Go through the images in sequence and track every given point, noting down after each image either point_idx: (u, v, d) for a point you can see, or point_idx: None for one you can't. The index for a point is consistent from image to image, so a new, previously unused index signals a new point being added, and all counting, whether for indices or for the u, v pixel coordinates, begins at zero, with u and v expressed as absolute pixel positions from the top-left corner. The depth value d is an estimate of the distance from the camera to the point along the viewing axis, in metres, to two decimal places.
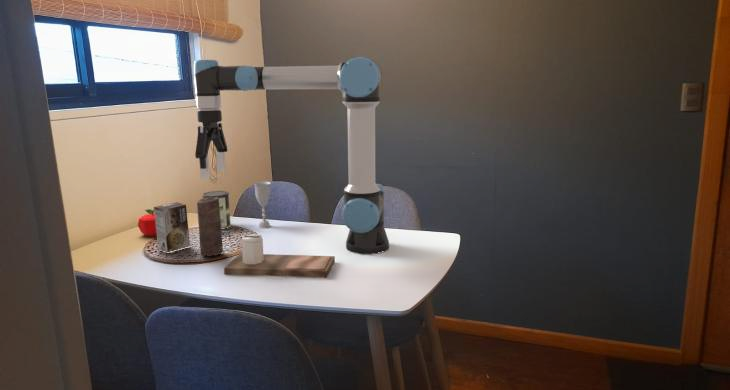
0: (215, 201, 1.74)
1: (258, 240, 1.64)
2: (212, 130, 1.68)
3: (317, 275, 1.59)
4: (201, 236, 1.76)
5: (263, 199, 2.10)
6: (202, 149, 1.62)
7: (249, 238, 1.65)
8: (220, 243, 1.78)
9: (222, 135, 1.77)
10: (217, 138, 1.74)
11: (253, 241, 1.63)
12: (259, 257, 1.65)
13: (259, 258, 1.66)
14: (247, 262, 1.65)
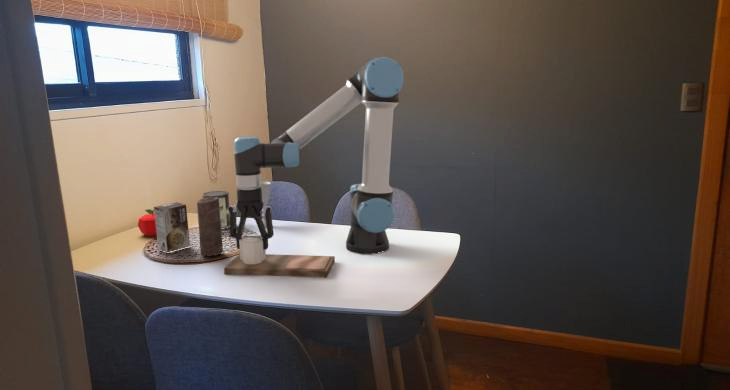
0: (215, 201, 1.74)
1: (258, 240, 1.64)
2: None
3: (317, 275, 1.59)
4: (201, 236, 1.76)
5: (263, 199, 2.10)
6: None
7: (249, 238, 1.65)
8: (220, 243, 1.78)
9: (266, 220, 1.63)
10: None
11: (253, 241, 1.63)
12: (259, 257, 1.65)
13: (259, 258, 1.66)
14: (247, 262, 1.65)
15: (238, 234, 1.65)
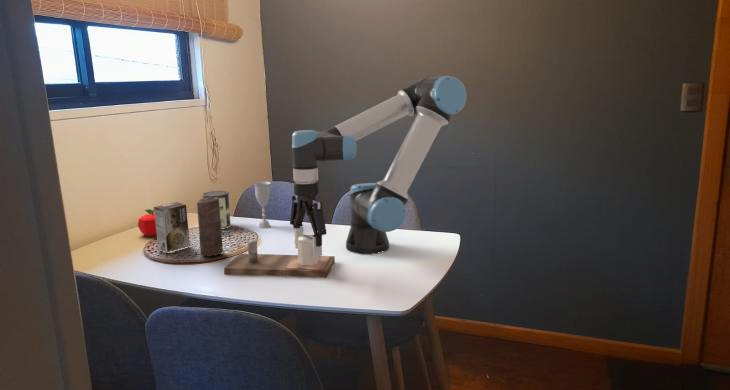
0: (215, 201, 1.74)
1: (308, 242, 1.61)
2: None
3: (317, 275, 1.59)
4: (201, 236, 1.76)
5: (263, 199, 2.10)
6: None
7: (303, 238, 1.63)
8: (220, 243, 1.78)
9: (314, 216, 1.57)
10: None
11: (302, 242, 1.61)
12: (308, 259, 1.62)
13: (308, 260, 1.62)
14: (299, 261, 1.64)
15: (294, 223, 1.67)
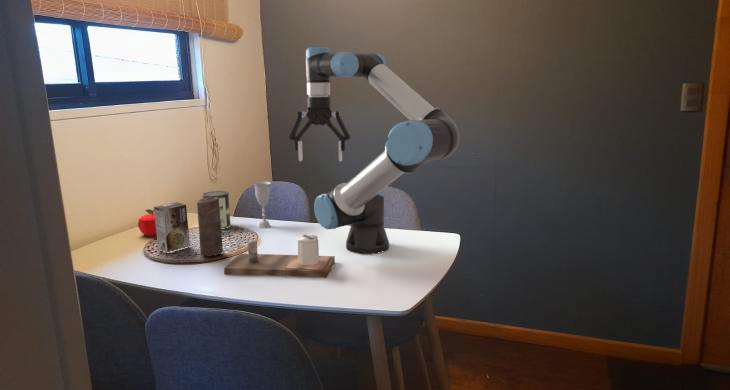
0: (215, 201, 1.74)
1: (308, 242, 1.61)
2: (312, 116, 1.72)
3: (317, 275, 1.59)
4: (201, 236, 1.76)
5: (263, 199, 2.10)
6: (291, 132, 1.75)
7: (303, 238, 1.63)
8: (220, 243, 1.78)
9: (339, 124, 1.72)
10: None
11: (302, 242, 1.61)
12: (308, 259, 1.62)
13: (308, 260, 1.62)
14: (299, 261, 1.64)
15: (298, 137, 1.75)
